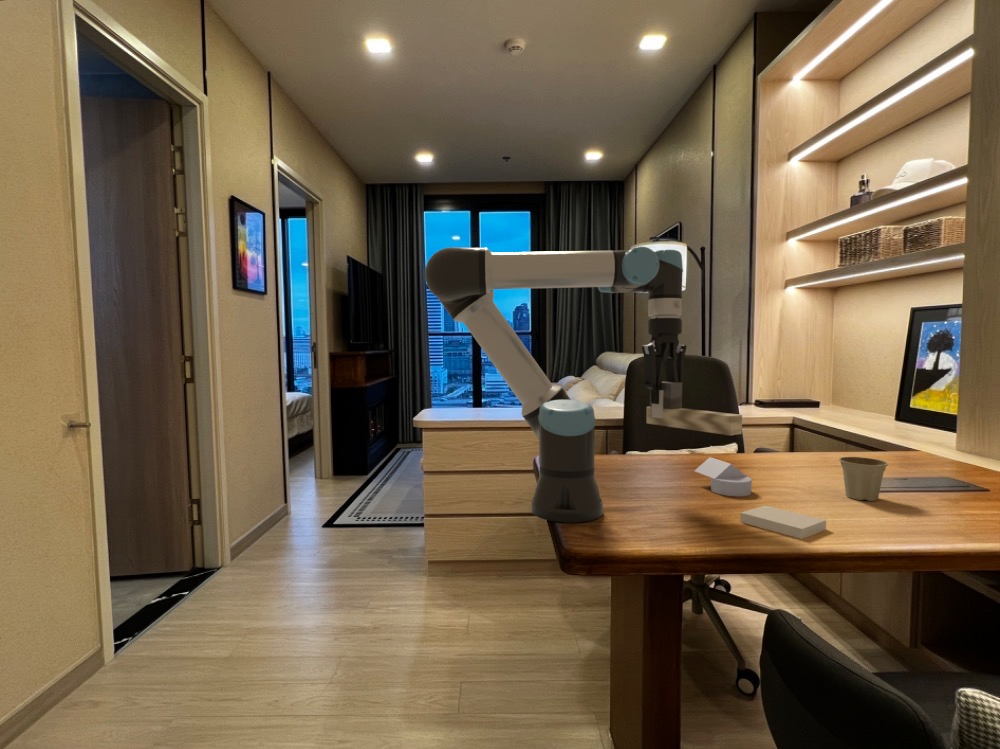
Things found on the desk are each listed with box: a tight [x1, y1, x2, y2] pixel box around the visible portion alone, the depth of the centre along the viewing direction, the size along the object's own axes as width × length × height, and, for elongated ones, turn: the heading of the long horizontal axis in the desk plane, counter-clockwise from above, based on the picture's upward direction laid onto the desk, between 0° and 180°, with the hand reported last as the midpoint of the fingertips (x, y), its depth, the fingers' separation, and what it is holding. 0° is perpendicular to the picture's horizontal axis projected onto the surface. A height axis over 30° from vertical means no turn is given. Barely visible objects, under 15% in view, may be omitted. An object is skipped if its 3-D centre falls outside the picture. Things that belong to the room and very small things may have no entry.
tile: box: [739, 505, 827, 540], centre depth 105 cm, size 9×2×12 cm
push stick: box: [645, 380, 743, 436], centre depth 121 cm, size 22×4×10 cm, turn 35°
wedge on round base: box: [694, 456, 752, 497], centre depth 132 cm, size 9×7×13 cm
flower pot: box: [838, 456, 889, 502], centre depth 124 cm, size 9×9×9 cm
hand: (663, 416), depth 127 cm, fingers closed on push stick, 4 cm apart
